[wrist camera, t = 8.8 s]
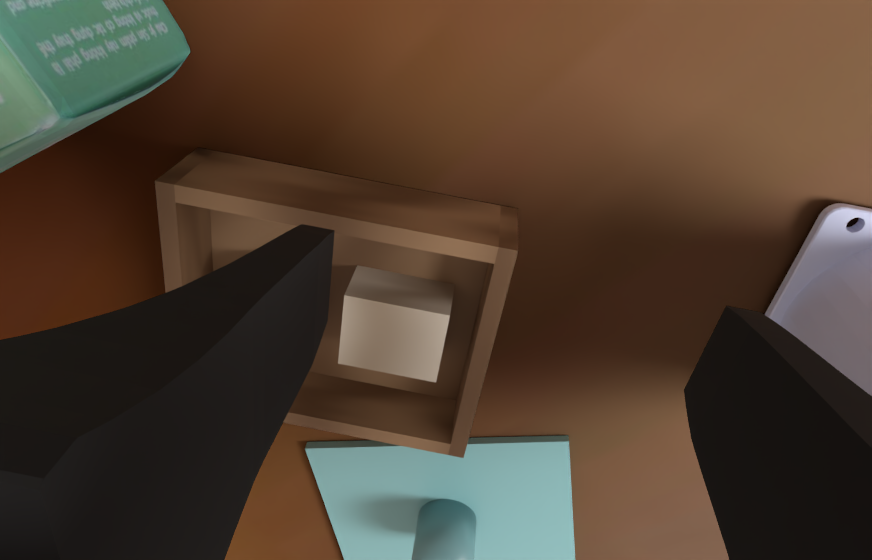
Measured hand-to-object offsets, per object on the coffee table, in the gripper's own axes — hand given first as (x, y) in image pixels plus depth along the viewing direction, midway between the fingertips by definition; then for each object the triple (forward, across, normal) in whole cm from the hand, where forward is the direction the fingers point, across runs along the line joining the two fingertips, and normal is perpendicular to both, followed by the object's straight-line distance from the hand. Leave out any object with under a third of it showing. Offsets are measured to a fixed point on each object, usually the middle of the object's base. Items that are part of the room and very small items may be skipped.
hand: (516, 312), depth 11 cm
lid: (+10, -1, +19) cm, 22 cm away
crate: (+10, +5, +7) cm, 13 cm away
